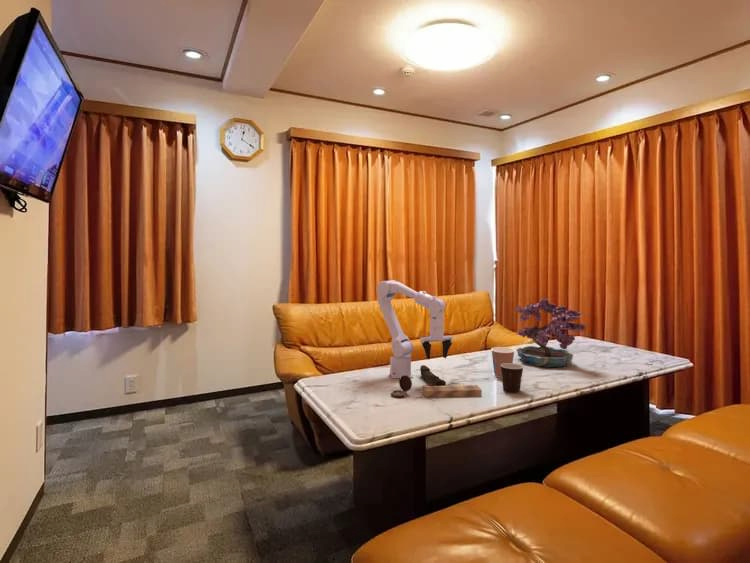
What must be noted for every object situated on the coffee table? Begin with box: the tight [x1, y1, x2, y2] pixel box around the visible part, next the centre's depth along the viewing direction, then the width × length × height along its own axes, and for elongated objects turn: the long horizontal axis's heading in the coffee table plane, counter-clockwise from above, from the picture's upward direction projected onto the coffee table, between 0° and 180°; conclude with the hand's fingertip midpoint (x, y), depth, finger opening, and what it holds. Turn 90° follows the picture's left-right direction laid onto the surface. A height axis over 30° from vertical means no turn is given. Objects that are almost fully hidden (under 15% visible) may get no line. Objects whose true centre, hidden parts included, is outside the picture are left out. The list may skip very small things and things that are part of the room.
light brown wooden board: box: [422, 384, 483, 399], centre depth 162 cm, size 22×6×3 cm, turn 93°
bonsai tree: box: [515, 298, 586, 368], centre depth 205 cm, size 35×27×32 cm
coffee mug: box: [501, 362, 524, 394], centre depth 165 cm, size 12×9×10 cm
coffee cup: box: [490, 346, 516, 379], centre depth 186 cm, size 10×10×12 cm
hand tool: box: [420, 364, 447, 386], centre depth 176 cm, size 23×5×6 cm, turn 11°
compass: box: [390, 375, 413, 399], centre depth 160 cm, size 8×8×7 cm
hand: (436, 358), depth 177 cm, fingers open, 7 cm apart
